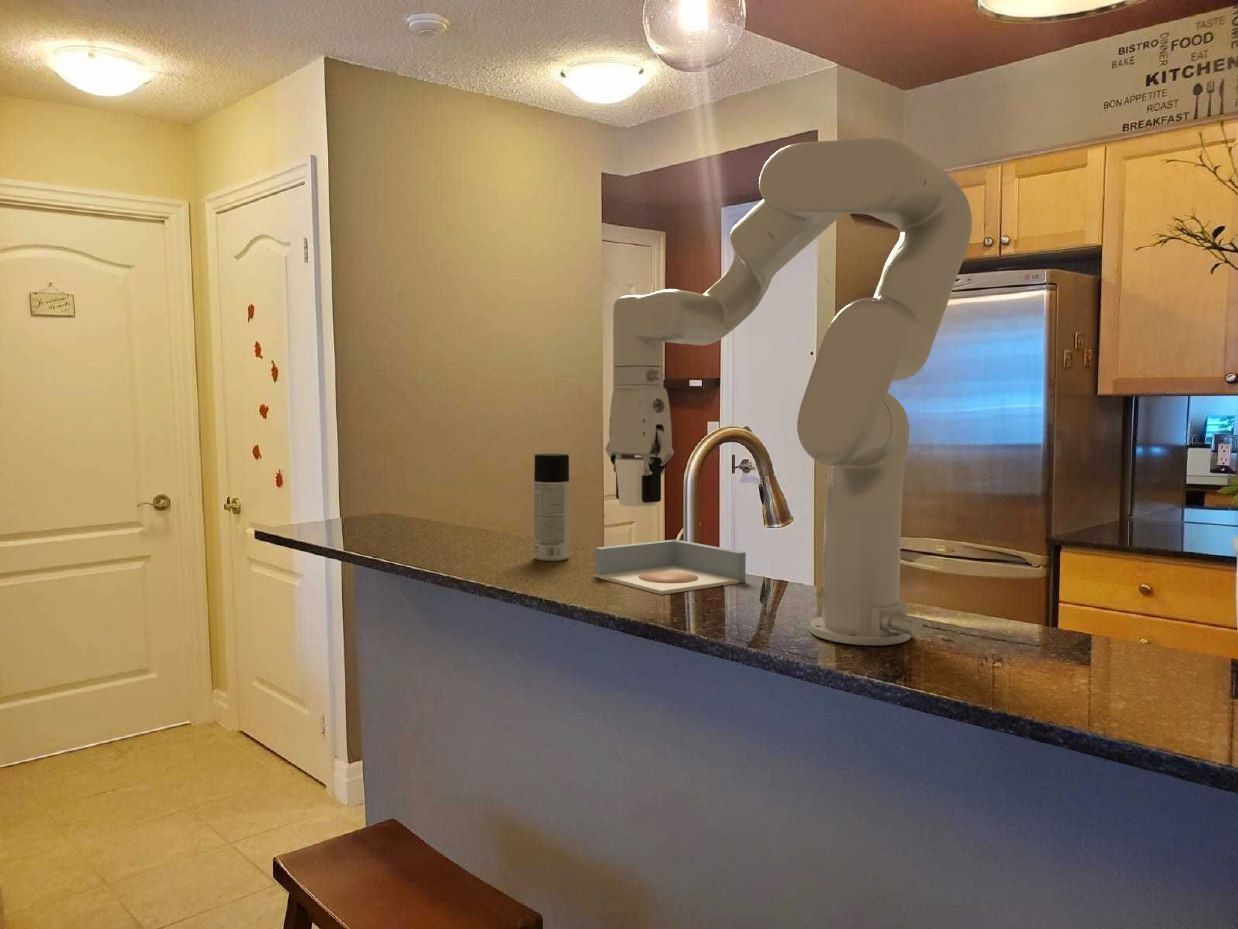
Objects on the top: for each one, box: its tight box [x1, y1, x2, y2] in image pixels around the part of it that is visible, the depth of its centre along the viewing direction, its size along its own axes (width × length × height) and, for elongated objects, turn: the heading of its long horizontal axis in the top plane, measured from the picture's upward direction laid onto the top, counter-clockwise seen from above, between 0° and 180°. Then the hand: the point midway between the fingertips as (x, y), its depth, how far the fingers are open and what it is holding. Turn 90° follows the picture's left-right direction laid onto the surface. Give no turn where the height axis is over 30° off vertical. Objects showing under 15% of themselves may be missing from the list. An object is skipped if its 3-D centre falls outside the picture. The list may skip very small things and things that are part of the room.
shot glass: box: [616, 456, 658, 507], centre depth 138 cm, size 7×7×7 cm
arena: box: [594, 539, 747, 596], centre depth 154 cm, size 18×18×5 cm
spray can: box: [533, 453, 570, 562], centre depth 174 cm, size 7×7×20 cm
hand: (638, 499), depth 138 cm, fingers closed on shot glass, 5 cm apart
